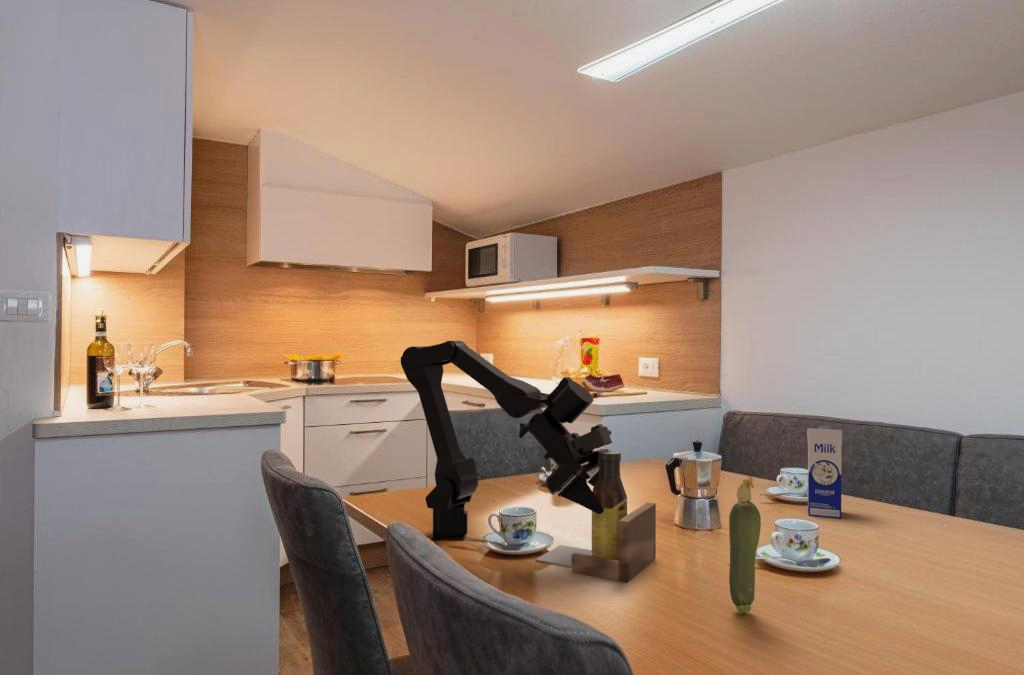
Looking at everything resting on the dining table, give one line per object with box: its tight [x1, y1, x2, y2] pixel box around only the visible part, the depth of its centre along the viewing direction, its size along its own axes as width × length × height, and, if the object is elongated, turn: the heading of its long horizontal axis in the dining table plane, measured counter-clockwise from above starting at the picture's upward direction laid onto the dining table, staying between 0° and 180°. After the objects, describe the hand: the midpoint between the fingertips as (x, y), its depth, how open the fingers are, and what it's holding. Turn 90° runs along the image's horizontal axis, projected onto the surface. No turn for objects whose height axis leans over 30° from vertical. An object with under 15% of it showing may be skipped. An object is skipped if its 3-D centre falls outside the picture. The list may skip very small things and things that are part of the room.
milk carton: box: [806, 425, 843, 519], centre depth 159 cm, size 7×7×20 cm
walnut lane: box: [571, 502, 657, 583], centre depth 122 cm, size 10×14×10 cm
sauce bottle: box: [591, 450, 628, 560], centre depth 123 cm, size 7×6×20 cm
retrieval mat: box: [535, 544, 592, 569], centre depth 127 cm, size 8×10×1 cm
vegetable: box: [728, 476, 762, 615], centre depth 102 cm, size 4×4×20 cm
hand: (612, 507), depth 123 cm, fingers open, 9 cm apart
